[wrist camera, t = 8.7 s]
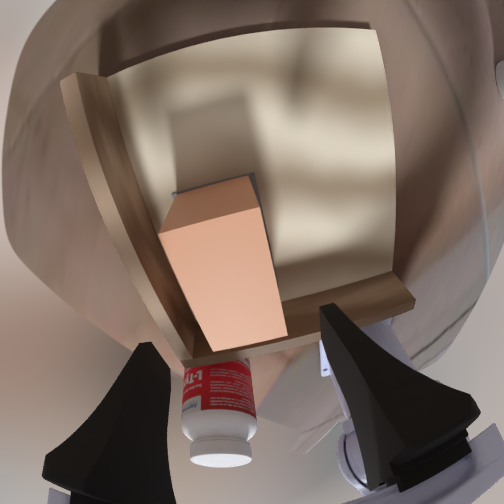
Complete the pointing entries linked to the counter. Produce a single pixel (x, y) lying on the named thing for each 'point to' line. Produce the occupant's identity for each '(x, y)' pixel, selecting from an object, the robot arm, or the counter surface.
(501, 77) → the bottle
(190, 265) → the block
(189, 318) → the tray
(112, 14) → the counter surface
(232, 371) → the pill bottle
